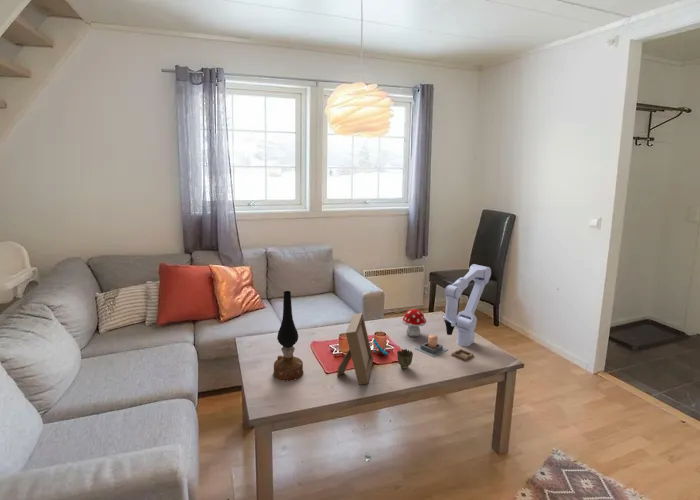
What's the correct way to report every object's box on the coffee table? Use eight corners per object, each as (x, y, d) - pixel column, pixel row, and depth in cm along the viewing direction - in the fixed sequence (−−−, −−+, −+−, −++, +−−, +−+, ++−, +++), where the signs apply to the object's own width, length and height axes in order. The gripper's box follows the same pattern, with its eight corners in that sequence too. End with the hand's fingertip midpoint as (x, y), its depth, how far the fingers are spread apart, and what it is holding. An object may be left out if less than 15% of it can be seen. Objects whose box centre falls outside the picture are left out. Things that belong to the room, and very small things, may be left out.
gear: (389, 356, 207) (375, 341, 207) (380, 364, 208) (366, 349, 207) (388, 348, 218) (374, 335, 218) (379, 356, 219) (366, 342, 218)
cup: (402, 373, 194) (403, 357, 193) (393, 366, 201) (394, 350, 199) (415, 369, 198) (416, 354, 196) (406, 362, 204) (407, 347, 202)
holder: (459, 351, 217) (459, 347, 216) (475, 358, 210) (475, 354, 210) (449, 357, 211) (449, 353, 210) (465, 363, 204) (465, 359, 204)
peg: (426, 347, 218) (427, 334, 217) (435, 347, 219) (436, 334, 217) (429, 351, 214) (429, 338, 213) (437, 351, 214) (438, 338, 213)
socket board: (428, 343, 225) (429, 338, 224) (447, 351, 217) (448, 346, 216) (414, 350, 217) (415, 344, 216) (433, 359, 209) (434, 353, 208)
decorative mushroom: (428, 332, 240) (430, 307, 236) (421, 341, 227) (423, 315, 224) (405, 327, 245) (406, 303, 242) (397, 336, 233) (398, 311, 230)
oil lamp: (303, 386, 188) (320, 307, 176) (269, 383, 185) (284, 303, 173) (301, 367, 201) (317, 292, 189) (269, 365, 198) (283, 288, 186)
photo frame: (373, 361, 205) (374, 313, 199) (368, 385, 184) (368, 332, 178) (343, 359, 207) (343, 311, 201) (334, 382, 186) (334, 330, 180)
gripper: (440, 303, 217) (438, 328, 220) (446, 313, 203) (443, 340, 205) (454, 304, 217) (452, 329, 219) (460, 314, 202) (458, 340, 205)
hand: (449, 334), depth 212 cm, fingers closed
